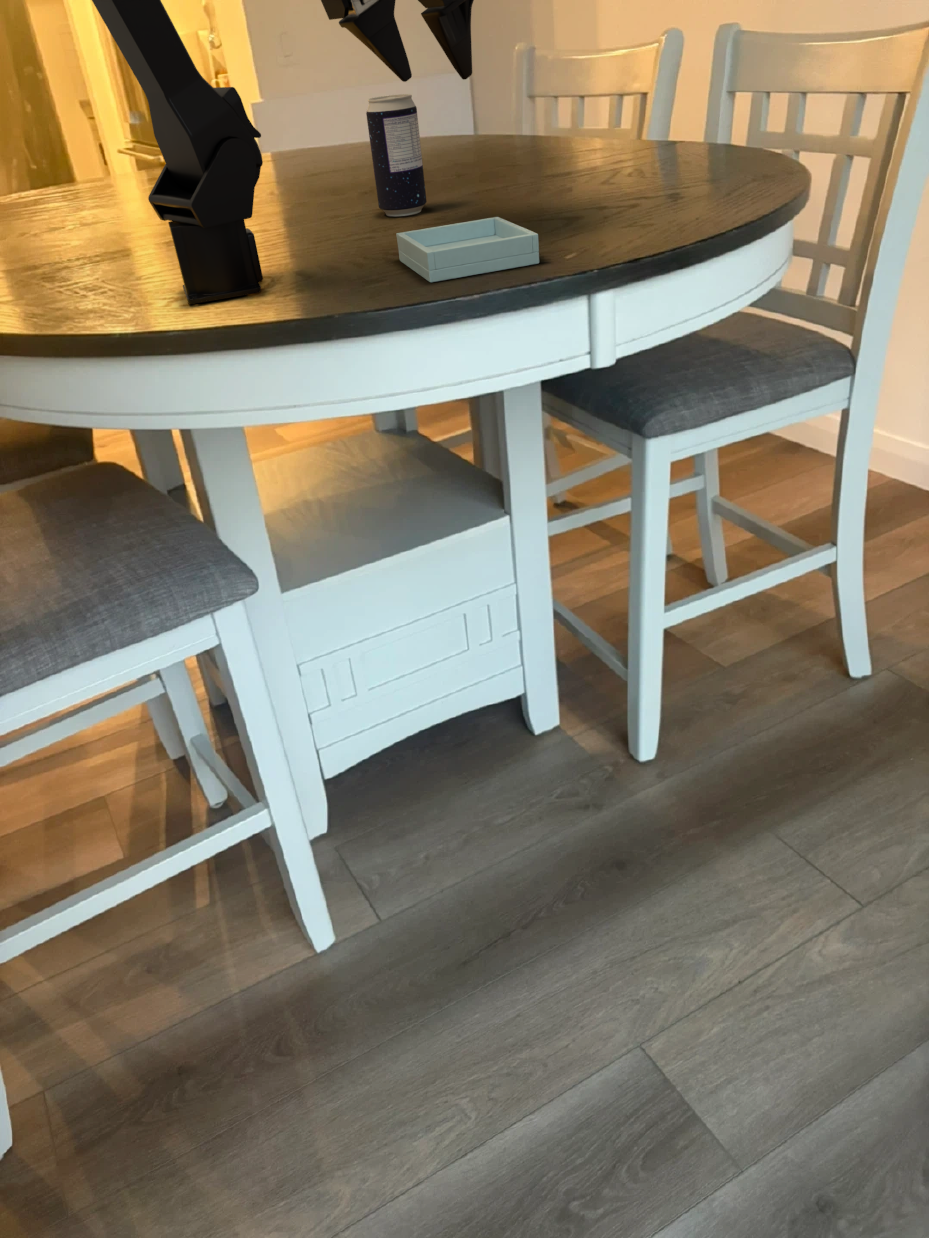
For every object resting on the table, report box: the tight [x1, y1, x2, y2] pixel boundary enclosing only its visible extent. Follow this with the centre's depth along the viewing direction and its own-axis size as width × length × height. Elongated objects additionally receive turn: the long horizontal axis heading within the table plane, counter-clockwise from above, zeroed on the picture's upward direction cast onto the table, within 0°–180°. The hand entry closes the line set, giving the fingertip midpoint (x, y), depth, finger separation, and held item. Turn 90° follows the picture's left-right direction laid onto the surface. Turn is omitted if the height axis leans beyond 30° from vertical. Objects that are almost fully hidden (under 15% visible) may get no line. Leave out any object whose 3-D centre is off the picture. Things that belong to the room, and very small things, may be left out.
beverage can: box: [365, 93, 427, 218], centre depth 104 cm, size 6×6×12 cm
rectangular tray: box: [395, 216, 540, 284], centre depth 83 cm, size 10×10×2 cm
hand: (436, 78), depth 89 cm, fingers open, 9 cm apart
